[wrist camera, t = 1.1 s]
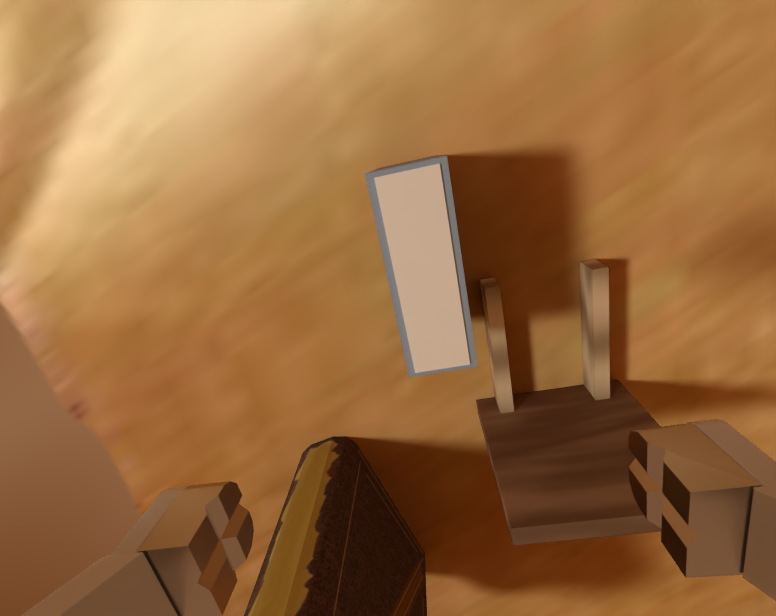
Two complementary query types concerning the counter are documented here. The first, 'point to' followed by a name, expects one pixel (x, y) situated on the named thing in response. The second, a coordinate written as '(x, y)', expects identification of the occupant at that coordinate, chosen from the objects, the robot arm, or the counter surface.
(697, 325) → the counter surface
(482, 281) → the wooden display stand
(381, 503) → the book
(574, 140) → the counter surface
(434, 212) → the box book
